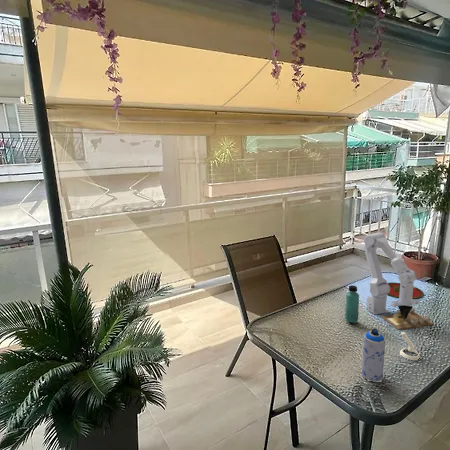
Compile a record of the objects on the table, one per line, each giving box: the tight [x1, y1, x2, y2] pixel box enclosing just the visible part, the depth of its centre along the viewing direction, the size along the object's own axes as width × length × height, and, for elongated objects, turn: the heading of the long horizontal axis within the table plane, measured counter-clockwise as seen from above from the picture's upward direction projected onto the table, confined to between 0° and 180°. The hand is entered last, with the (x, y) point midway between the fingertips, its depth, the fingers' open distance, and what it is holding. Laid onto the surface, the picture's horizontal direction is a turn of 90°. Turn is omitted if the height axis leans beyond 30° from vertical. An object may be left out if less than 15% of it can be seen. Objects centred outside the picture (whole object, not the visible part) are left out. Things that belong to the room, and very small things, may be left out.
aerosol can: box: [361, 328, 386, 381], centre depth 119 cm, size 8×8×20 cm
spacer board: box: [381, 308, 434, 330], centre depth 160 cm, size 20×13×3 cm, turn 101°
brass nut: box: [393, 313, 404, 323], centre depth 159 cm, size 5×4×2 cm
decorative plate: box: [387, 282, 425, 300], centre depth 196 cm, size 25×1×25 cm
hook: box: [399, 331, 421, 361], centre depth 133 cm, size 8×12×7 cm
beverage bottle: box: [344, 285, 360, 323], centre depth 159 cm, size 6×7×20 cm
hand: (403, 317), depth 159 cm, fingers closed
